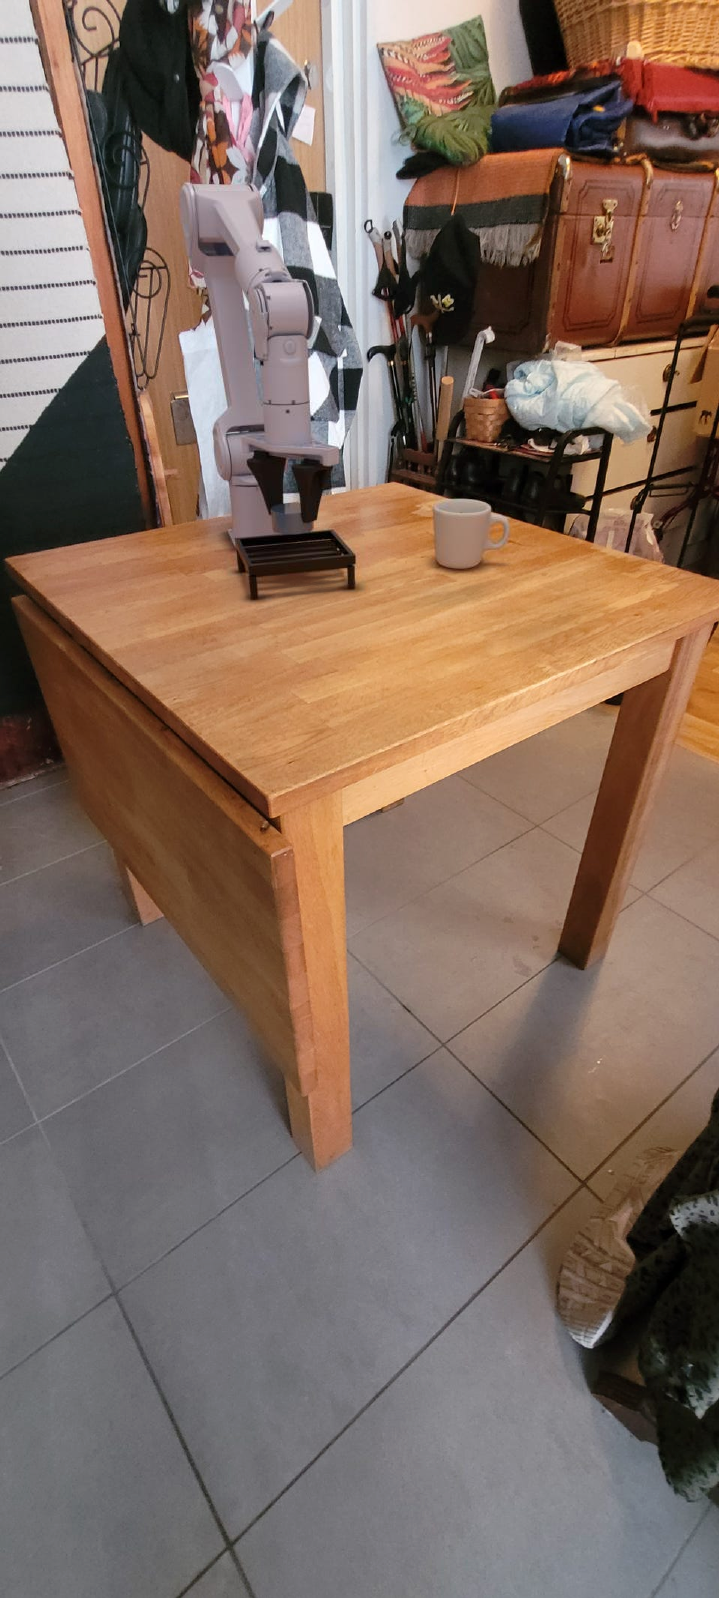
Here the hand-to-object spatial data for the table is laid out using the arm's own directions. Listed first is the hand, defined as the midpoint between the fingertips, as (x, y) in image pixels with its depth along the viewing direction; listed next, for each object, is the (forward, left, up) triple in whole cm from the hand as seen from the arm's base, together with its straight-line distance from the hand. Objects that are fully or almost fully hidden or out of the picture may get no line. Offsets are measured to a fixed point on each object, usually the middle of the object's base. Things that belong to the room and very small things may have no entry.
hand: (292, 517), depth 100 cm
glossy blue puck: (0, 0, -1) cm, 1 cm away
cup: (+1, +25, -8) cm, 26 cm away
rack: (0, 0, -8) cm, 8 cm away
